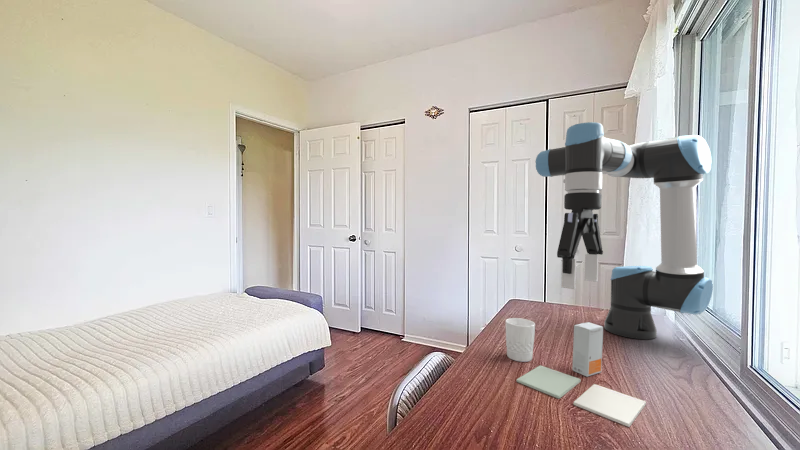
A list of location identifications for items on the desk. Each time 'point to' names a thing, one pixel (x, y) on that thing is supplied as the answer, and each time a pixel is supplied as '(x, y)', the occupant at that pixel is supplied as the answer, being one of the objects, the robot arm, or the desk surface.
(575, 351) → the skincare box
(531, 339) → the white cup
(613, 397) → the taller pad
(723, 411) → the desk surface
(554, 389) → the shorter pad
